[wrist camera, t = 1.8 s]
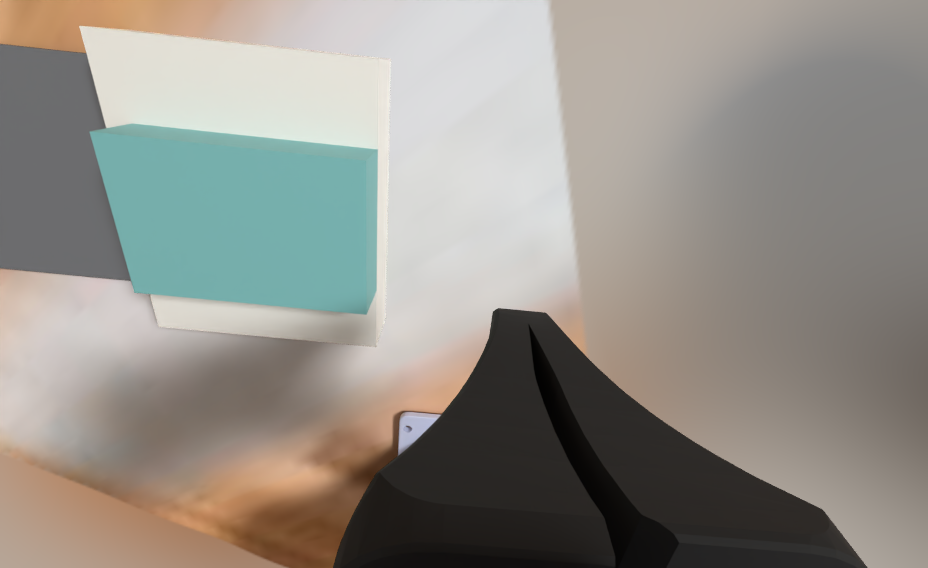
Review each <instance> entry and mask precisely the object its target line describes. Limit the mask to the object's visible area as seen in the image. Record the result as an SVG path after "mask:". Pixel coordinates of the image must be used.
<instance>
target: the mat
mask: <svg viewBox="0 0 928 568" xmlns="http://www.w3.org/2000/svg"><path fill="white" fill-rule="evenodd" d="M105 128H106V125H105V122H104V118H103V114H102V110H101V106H100V103H99V99H98V95H97V91H96V87H95V84H94V80H93V76H92V72H91V68H90V65H89V61H88V57H87V53H78V52H69V51H60V50H51V49H42V48H32V47H23V46H14V45H5V44H0V268H4V269H15V270H25V271H36V272H46V273H56V274H67V275H77V276H88V277H98V278H109V279H119V280H129V281H131V278H130V274H129V271H128V267H127V264H126V260H125V257H124V253H123V250H122V246H121V242H120V239H119V235H118V232H117V228H116V225H115V221H114V217H113V214H112V210H111V207H110V203H109V200H108V196H107V193H106V189H105V185H104V182H103V178H102V175H101V171H100V168H99V164H98V160H97V157H96V153H95V150H94V146H93V143H92V139H91V136H90V131H95V130H100V129H105Z"/></svg>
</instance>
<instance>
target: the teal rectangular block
mask: <svg viewBox="0 0 928 568" xmlns="http://www.w3.org/2000/svg"><path fill="white" fill-rule="evenodd" d="M90 136H91V139H92V143H93V146H94V150H95V153H96V157H97V160H98V164H99V168H100V171H101V175H102V178H103V182H104V185H105V189H106V193H107V196H108V200H109V203H110V207H111V210H112V214H113V217H114V221H115V225H116V228H117V232H118V235H119V239H120V242H121V246H122V250H123V253H124V257H125V260H126V264H127V267H128V271H129V274H130V278H131V282H132V285H133V289H134V292H135V293H144V294H154V295H165V296H175V297H186V298H196V299H207V300H217V301H228V302H238V303H249V304H259V305H270V306H280V307H291V308H301V309H312V310H322V311H333V312H343V313H354V314H364V315H367V313H368V310H369V308H370V305H371V303H372V301H373V298H374V296H375V293H376V291H377V191H378V149H369V148H360V147H350V146H341V145H331V144H322V143H312V142H303V141H294V140H284V139H275V138H265V137H256V136H246V135H237V134H227V133H218V132H209V131H199V130H190V129H180V128H171V127H161V126H152V125H143V124H133V123H131V124H126V125H121V126H116V127H110V128H105V129H100V130H95V131H90Z"/></svg>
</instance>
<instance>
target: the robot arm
mask: <svg viewBox="0 0 928 568" xmlns="http://www.w3.org/2000/svg"><path fill="white" fill-rule="evenodd" d="M406 426H410V427H406ZM333 568H867V566H866V565H865V564H864V562H863V561H862V560H861V559H860V557H859V556H858V555H857V553H856V552H855V551H854V550H853V548H852V547H851V546H850V544H849V543H848V542H847V540H846V539H845V538H844V537H843V535H842V534H841V533H840V531H839V530H838V529H837V528H836V526H835V525H834V524H833V522H832V521H831V520H830V519H829V517H828V516H827V515H826V513H825V512H824V511H823V510H822V509H820V508H818V507H816V506H814V505H812V504H810V503H808V502H806V501H804V500H802V499H800V498H798V497H796V496H794V495H792V494H789V493H787V492H785V491H783V490H781V489H779V488H777V487H775V486H773V485H771V484H769V483H767V482H765V481H763V480H760V479H759V478H756V477H755V476H753V475H751V474H749V473H747V472H745V471H743V470H742V469H740V468H738V467H736V466H734V465H733V464H731V463H729V462H727V461H726V460H724V459H722V458H720V457H718V456H717V455H715V454H713V453H712V452H710V451H708V450H707V449H705V448H703V447H702V446H700V445H698V444H697V443H695V442H693V441H692V440H690V439H689V438H687V437H686V436H684V435H683V434H681V433H680V432H678V431H677V430H675V429H674V428H672V427H671V426H669V425H668V424H666V423H664V422H663V421H662V420H660V419H659V418H658V417H656V416H655V415H653V414H652V413H650V412H649V411H648V410H647V409H645V408H644V407H643V406H642V405H640V404H639V403H638V402H636V401H635V400H634V399H633V398H631V397H630V396H629V395H627V394H626V393H625V392H624V391H623V390H621V389H620V388H619V387H618V386H617V385H616V384H615V383H613V382H612V381H611V380H610V379H609V378H608V377H607V376H606V375H605V374H603V372H601V371H600V370H599V369H598V368H597V367H596V366H595V365H594V364H593V363H592V362H591V361H590V360H589V359H588V358H587V357H586V356H585V355H584V354H583V353H582V352H581V351H580V350H579V349H578V347H577V346H576V345H575V344H574V343H573V342H572V341H571V340H570V339H569V338H568V337H567V335H566V334H565V333H564V332H563V331H562V330H561V329H560V328H559V327H558V325H557V324H556V323H555V322H554V321H553V320H552V319H551V318H550V317H549V316H548V314H547V313H542V312H532V311H522V310H511V309H501V308H498V309H496V310H495V311H493V315H492V322H491V328H490V335H489V339H488V341H487V344H486V346H485V349H484V351H483V353H482V355H481V357H480V359H479V361H478V363H477V365H476V367H475V368H474V370H473V372H472V374H471V375H470V377H469V378H468V380H467V382H466V383H465V385H464V386H463V387H462V389H461V390H460V392H459V393H458V395H457V396H456V397H455V398H454V400H453V401H452V402H451V403H450V405H449V406H448V407H447V408H446V410H445V411H444V412H443V413H442V414H441V415H439V414H428V413H416V412H405V413H403V414H402V415H401V417H400V421H399V442H398V456H397V457H396V458H395V459H394V460H392V461H391V462H390V463H389V464H387V465H386V466H385V467H384V468H382V469H381V470H380V471H379V472H377V473H376V475H375V476H374V478H373V480H372V481H371V483H370V485H369V486H368V488H367V490H366V492H365V493H364V495H363V497H362V499H361V500H360V502H359V504H358V506H357V508H356V510H355V512H354V514H353V516H352V518H351V520H350V522H349V524H348V526H347V528H346V531H345V533H344V536H343V538H342V541H341V543H340V546H339V549H338V552H337V555H336V559H335V563H334V566H333Z"/></svg>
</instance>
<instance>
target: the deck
mask: <svg viewBox="0 0 928 568" xmlns="http://www.w3.org/2000/svg"><path fill="white" fill-rule="evenodd" d="M79 27H80V30H81V34H82V38H83V42H84V46H85V49H86V53H87V57H88V61H89V65H90V68H91V72H92V76H93V80H94V84H95V87H96V91H97V95H98V99H99V103H100V106H101V110H102V114H103V118H104V122H105V125H106V128H110V127H116V126H121V125H126V124H131V123H133V124H143V125H152V126H161V127H171V128H180V129H190V130H199V131H209V132H218V133H227V134H237V135H246V136H256V137H265V138H275V139H284V140H294V141H303V142H312V143H322V144H331V145H341V146H350V147H360V148H369V149H378V191H377V291H376V293H375V296H374V298H373V301H372V303H371V305H370V308H369V310H368V313H367V315H364V314H354V313H343V312H333V311H322V310H312V309H301V308H291V307H280V306H270V305H259V304H249V303H238V302H228V301H217V300H207V299H196V298H186V297H175V296H165V295H154V294H150V297H151V300H152V304H153V308H154V312H155V316H156V319H157V323H158V327H165V328H176V329H187V330H197V331H208V332H219V333H229V334H240V335H251V336H262V337H272V338H283V339H294V340H305V341H315V342H326V343H337V344H347V345H358V346H369V347H376V346H377V343H378V340H379V337H380V334H381V331H382V328H383V325H384V322H385V319H386V279H387V230H388V181H389V133H390V84H391V59H386V58H377V57H368V56H359V55H350V54H341V53H332V52H324V51H315V50H306V49H297V48H288V47H279V46H270V45H261V44H252V43H243V42H234V41H225V40H216V39H207V38H198V37H189V36H180V35H172V34H163V33H154V32H145V31H136V30H125V29H113V28H101V27H88V26H79Z"/></svg>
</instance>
